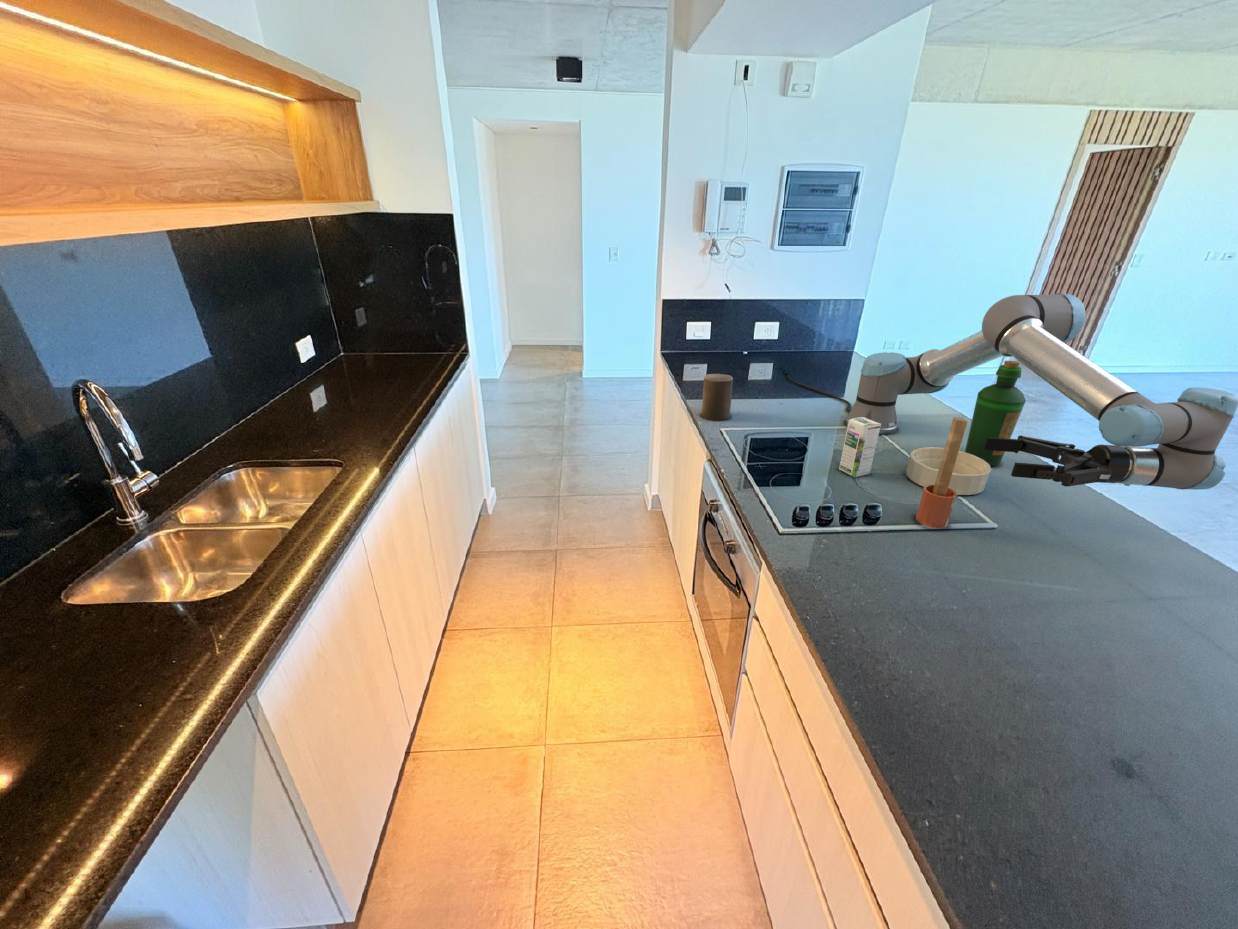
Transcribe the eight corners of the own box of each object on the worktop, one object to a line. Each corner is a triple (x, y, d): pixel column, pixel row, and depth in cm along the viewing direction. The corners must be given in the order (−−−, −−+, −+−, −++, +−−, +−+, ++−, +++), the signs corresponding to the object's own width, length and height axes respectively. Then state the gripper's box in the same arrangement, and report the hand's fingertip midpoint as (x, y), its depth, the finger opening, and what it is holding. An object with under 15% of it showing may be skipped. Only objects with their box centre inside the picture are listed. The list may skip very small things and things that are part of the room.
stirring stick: (924, 522, 117) (952, 420, 107) (921, 517, 119) (949, 416, 108) (941, 523, 116) (971, 421, 106) (938, 519, 118) (967, 417, 108)
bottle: (1011, 470, 142) (1046, 368, 130) (967, 467, 144) (998, 366, 132) (994, 455, 151) (1025, 358, 140) (953, 452, 153) (980, 356, 142)
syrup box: (837, 469, 143) (847, 419, 137) (854, 465, 145) (864, 415, 139) (854, 478, 138) (864, 426, 132) (870, 474, 140) (882, 422, 134)
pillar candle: (717, 422, 176) (721, 378, 170) (695, 415, 183) (698, 373, 176) (735, 416, 182) (739, 373, 175) (713, 409, 188) (716, 368, 182)
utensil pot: (908, 517, 120) (917, 485, 116) (933, 514, 121) (941, 483, 118) (928, 531, 114) (937, 499, 111) (953, 528, 115) (963, 496, 112)
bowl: (890, 470, 142) (895, 450, 140) (947, 464, 145) (952, 444, 143) (939, 501, 127) (945, 478, 124) (1001, 494, 130) (1008, 472, 127)
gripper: (1153, 511, 95) (1021, 500, 99) (1076, 457, 117) (970, 449, 121) (1171, 474, 92) (1034, 463, 96) (1088, 425, 114) (979, 418, 118)
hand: (998, 455), depth 109 cm, fingers open, 13 cm apart
